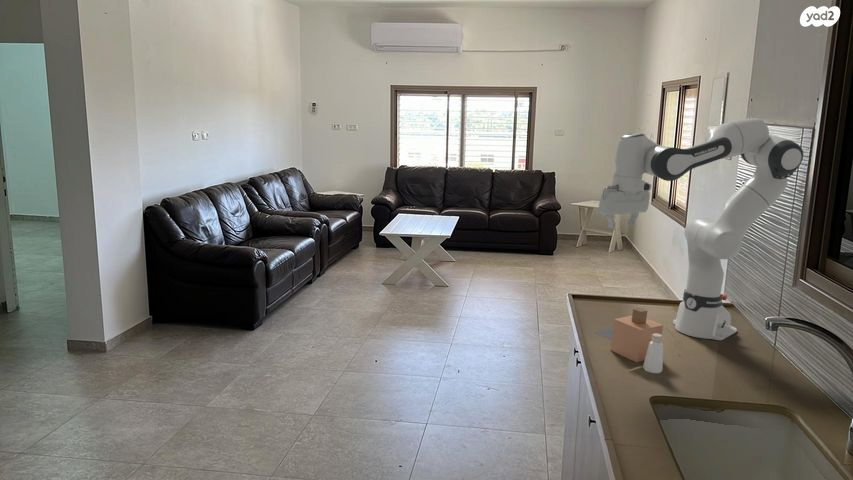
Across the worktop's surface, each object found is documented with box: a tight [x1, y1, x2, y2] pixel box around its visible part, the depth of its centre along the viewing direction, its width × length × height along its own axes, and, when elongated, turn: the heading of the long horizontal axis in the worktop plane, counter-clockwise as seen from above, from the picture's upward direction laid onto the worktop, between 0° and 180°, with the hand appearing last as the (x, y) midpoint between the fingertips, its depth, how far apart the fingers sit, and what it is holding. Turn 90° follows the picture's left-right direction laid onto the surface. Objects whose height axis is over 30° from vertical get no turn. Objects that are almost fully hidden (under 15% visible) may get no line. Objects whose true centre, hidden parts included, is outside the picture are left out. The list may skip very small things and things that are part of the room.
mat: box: [594, 327, 613, 341], centre depth 212 cm, size 12×12×1 cm
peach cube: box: [610, 307, 664, 363], centre depth 196 cm, size 10×10×15 cm
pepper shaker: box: [642, 333, 664, 374], centre depth 186 cm, size 5×5×11 cm
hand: (621, 226), depth 205 cm, fingers open, 8 cm apart
